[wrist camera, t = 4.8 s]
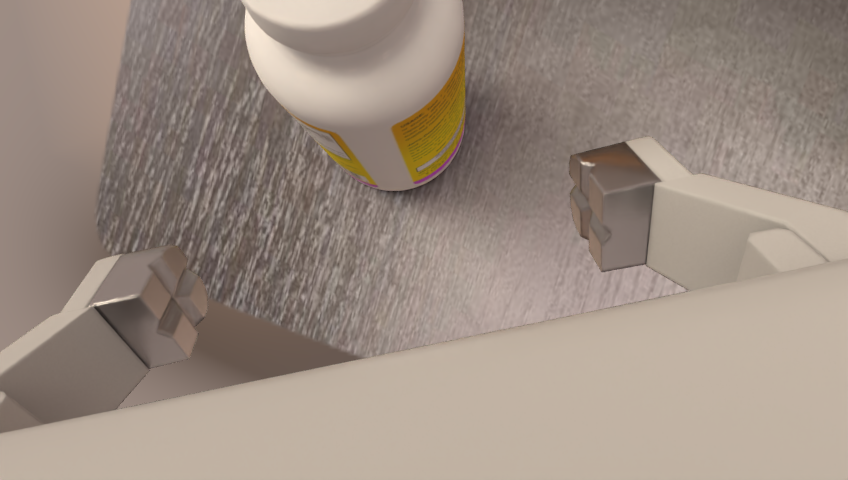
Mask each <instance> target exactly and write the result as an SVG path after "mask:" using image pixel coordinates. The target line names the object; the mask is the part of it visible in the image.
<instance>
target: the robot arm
mask: <svg viewBox="0 0 848 480" xmlns="http://www.w3.org/2000/svg"><path fill="white" fill-rule="evenodd" d="M569 175H570V176H571V178H572V179H573V181H574V182H575V184H576V185H575V186H574V188H573V189H572V191H571V192H570V204H571V211H572V216H573V221H574V223H575V226H576V228H577V230H578V232H579V234H580V236H581V237H583V238H585V239H587V240H589V252H590V253H591V255H592V257H593V258H594V260H595V262H596V263H597V265H598V267H599V269H600V270H601V272H606V271H612V270H617V269H623V268H628V267H633V266H639V265H644V264H646V266H647V267H649V268H651V269H652V270H654V271H656V272H658V273H659V274H661V275H663V276H665V277H666V278H668V279H670V280H672V281H673V282H675V283H677V284H679V285H680V286H682V287H684V288H686V289H687V290H689V291H688V292H683V293H678V294H673V295H668V296H663V297H658V298H654V299H649V300H644V301H639V302H634V303H629V304H625V305H620V306H615V307H610V308H605V309H600V310H596V311H591V312H586V313H581V314H576V315H571V316H567V317H562V318H557V319H552V320H547V321H542V322H538V323H533V324H528V325H523V326H518V327H513V328H509V329H504V330H499V331H494V332H489V333H484V334H480V335H475V336H470V337H465V338H460V339H455V340H450V341H446V342H441V343H436V344H431V345H426V346H421V347H417V348H412V349H407V350H402V351H397V352H392V353H388V354H383V355H378V356H373V357H368V358H363V359H359V360H354V361H349V362H344V363H340V364H334V365H329V366H325V367H321V368H315V369H310V370H305V371H301V372H296V373H291V374H286V375H281V376H277V377H272V378H267V379H262V380H258V381H252V382H248V383H242V384H237V385H233V386H228V387H223V388H218V389H213V390H208V391H203V392H199V393H194V394H189V395H184V396H179V397H175V398H170V399H165V400H160V401H155V402H150V403H145V404H140V405H136V406H131V407H126V408H121V409H117V407H118V406H119V405H120V404H121V403H122V402H123V401H124V399H125V398H126V397H127V396H128V395H129V394H130V393H131V391H132V390H133V389H134V388H135V387H136V386H137V385H138V383H139V382H140V381H141V380H142V379H143V378H144V377H145V375H146V374H147V373H148V372H149V371H150V370H149V369H150V368H154V367H159V366H163V365H167V364H171V363H175V362H179V361H183V360H188V359H190V356H191V354H192V351H193V348H194V346H195V343H196V340H197V337H198V335H199V333H198V332H197V330H196V329H195V326H197V325H198V324H199V323H200V322H201V321H202V320H203V319H204V318H205V315H206V312H207V309H208V293H207V290H206V287H205V285H204V283H203V281H202V280H201V278H200V276H199V275H198V274H196V273H194V272H192V271H190V270H188V269H186V267H187V262H188V258H187V257H186V256H185V254H184V253H183V251H182V250H181V249H180V247H178V246H175V245H173V244H170V245H165V246H160V247H155V248H150V249H145V250H140V251H135V252H130V253H126V254H120V255H115V256H111V257H107V258H104V259H101V260H98V261H96V263H95V264H94V265H93V267H92V269H91V270H90V272H89V273H88V274H87V275H86V277H85V278H84V280H83V281H82V283H81V284H80V285H79V287H78V288H77V290H76V291H75V292H74V294H73V295H72V297H71V298H70V300H69V301H68V302H67V304H66V305H65V307H64V308H63V310H62V311H61V312H60V314H56V315H52V316H51V317H49V318H48V319H46V320H45V321H43V322H42V323H40V324H39V325H38V326H36V327H35V328H33V329H32V330H31V331H29V332H28V333H26V334H25V335H24V336H22V337H21V338H19V339H18V340H17V341H15V342H14V343H12V344H11V345H9V346H8V347H7V348H5V349H4V350H2V351H1V352H0V480H848V211H845V210H841V209H837V208H833V207H829V206H825V205H822V204H818V203H814V202H810V201H806V200H802V199H799V198H795V197H791V196H787V195H783V194H779V193H776V192H772V191H768V190H764V189H760V188H756V187H753V186H749V185H745V184H741V183H737V182H733V181H730V180H726V179H722V178H718V177H714V176H710V175H707V174H703V173H699V174H695V175H693V174H691V173H690V172H689V171H688V170H687V169H686V168H685V167H684V166H683V165H682V164H681V163H680V162H679V161H678V160H676V159H675V158H674V157H673V156H672V155H671V154H670V153H669V152H668V151H667V150H666V149H665V148H664V147H663V146H661V145H660V144H659V143H658V142H657V141H656V140H655V139H654V138H653V137H650V136H645V137H641V138H637V139H634V140H630V141H626V142H622V143H618V144H614V145H610V146H606V147H602V148H598V149H594V150H590V151H586V152H582V153H578V154H574V155H571V157H570V162H569ZM116 409H117V410H116Z"/></svg>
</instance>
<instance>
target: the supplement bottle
mask: <svg viewBox="0 0 848 480" xmlns="http://www.w3.org/2000/svg"><path fill="white" fill-rule="evenodd" d="M241 2H242V3H243V5H244V6H245V8H246V13H245V37H246V43H247V48H248V51H249V55H250V59H251V61H252V64H253V66H254V68H255V70H256V72H257V74H258V76H259V78H260V79H261V81H262V83H263V84H264V86H265V87H266V88H267V90H268V91H269V92H270V93H271V94H272V95H273V97H274V98H275V99H276V100H277V101H278V102H279V103H280V104H281V105H282V107H283V108H285V109H286V110H287V111H288V112H289V114H290V115H291V116H292V117H293V118H295V120H296V121H297V122H298V123H299V124H300V125H301V126H302V127H303V128H304V129H305V130H306V131H307V132H308V133H309V134H310V135H311V137H312V138H313V139H314V140H315V141H316V142H317V143H318V144H319V145H320V146H321V147H322V148H323V149H324V150H325V151H326V152H327V153H328V154H329V155H330V157H331V158H332V159H333V160H334V161H335V162H336V163H337V164H338V165H339V166H340V167H341V168H342V169H343V170H344V171H345V172H346V173H348V174H349V175H350V176H351V177H353V178H354V179H356V180H357V181H359V182H361V183H362V184H364V185H367V186H369V187H372V188H376V189H380V190H386V191H402V190H408V189H412V188H415V187H418V186H421V185H423V184H425V183H427V182H429V181H431V180H432V179H434V178H435V177H437V176H438V175H439V174H440V173H441V172H443V171H444V170H445V169H446V168H447V166H448V165H449V164H450V163H451V161H452V160H453V158H454V157H455V155H456V153H457V152H458V149H459V147H460V145H461V142H462V138H463V134H464V128H465V57H464V45H465V37H464V14H463V4H462V0H241Z"/></svg>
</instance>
